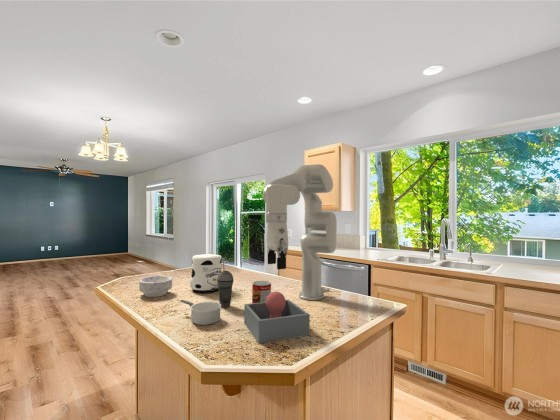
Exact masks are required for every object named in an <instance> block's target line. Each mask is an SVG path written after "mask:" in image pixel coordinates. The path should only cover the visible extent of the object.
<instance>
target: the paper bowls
mask: <svg viewBox="0 0 560 420" xmlns="http://www.w3.org/2000/svg"><path fill="white" fill-rule="evenodd" d="M138 281H139V282H138V283H139V284H138V285H139V286H138V287H139V290H138V291H139V292H141V293H142V294H143V295H144V296H145V297H147V298H158V297H162V296H165V295H167V293H168V291H170V290H171V289H172V288H173V278H172V277H171V276H167V275H156V276H155V275H152V276H146V277H142V278H140V279H139V280H138Z"/></svg>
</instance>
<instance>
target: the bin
mask: <svg viewBox="0 0 560 420" xmlns="http://www.w3.org/2000/svg"><path fill="white" fill-rule="evenodd" d="M285 301H286V303H285V307H284V309H283V311H282V313H281V317H277V318H271V317H270V312H269V310H268V308H267V306H266V302H261V303H252V302H251V303H245V304H244V306H243V307H244V308H243V310H244V311H243V315H244V317H243V318H244V319H243V320H244V321H243V323H244V325H245V326H246V328H247V329H248V331H249V332H250V333H251V335H252V336H253V338H254V339H255V340H256V342H257V343H258V344H265V343H269V342H276V341H281V340H288V339H294V338H300V337H306V336H307V337H308V336H310V321H311V319H310V317H311V315H310V313H309V312H307V311H306V310H304V308H301V307H300V306H299V305H297V304H296V303H294V302H293V301H291V300H290V299H285Z"/></svg>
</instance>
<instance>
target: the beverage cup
mask: <svg viewBox="0 0 560 420" xmlns="http://www.w3.org/2000/svg"><path fill="white" fill-rule="evenodd" d="M225 269H226V268H225V261H224V260H222V270H223V271H222V272H221V273H220V274H219V275H218V278H217V283H218V290H217V291H218V303H220V304H221V307H220V309H221V308H222V309H227V308H230V307H231V301H232V292H233V284H234V280H235V279H234V276H233V273H231V271H229V270H225Z"/></svg>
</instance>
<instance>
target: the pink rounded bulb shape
mask: <svg viewBox="0 0 560 420" xmlns="http://www.w3.org/2000/svg"><path fill="white" fill-rule="evenodd" d="M285 300H286V297H285V295H284V294H283V293H282V292H280V291H277V290H276V291H271V293H270V294H269V295H268V296H267V298H266V306H267V308H268V310H269V312H270V317H271V318H277V317H281V313H282V311H283V309H284V307H285V303H286V301H285Z"/></svg>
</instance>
